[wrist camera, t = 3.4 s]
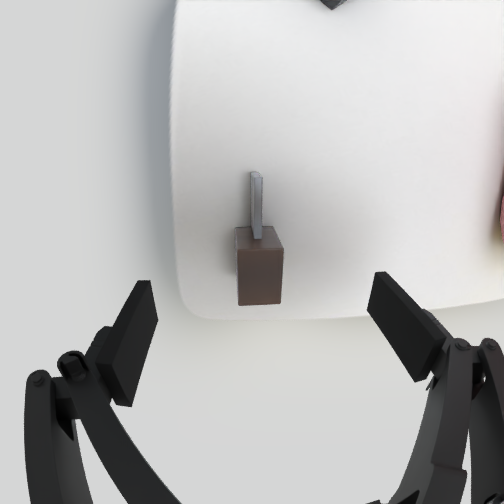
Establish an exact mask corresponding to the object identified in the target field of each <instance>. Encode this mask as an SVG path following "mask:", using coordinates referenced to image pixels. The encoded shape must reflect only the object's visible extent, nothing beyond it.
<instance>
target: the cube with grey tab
mask: <svg viewBox="0 0 504 504" xmlns="http://www.w3.org/2000/svg"><path fill="white" fill-rule="evenodd" d="M321 1H322V2H323V3H324V4H325V5H327V6H328V7H329V8H330V9H331V10H333V9H334V8H336V7H337V6H339V5H340V4H342V3H343V2H345V1H346V0H321Z"/></svg>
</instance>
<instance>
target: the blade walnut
mask: <svg viewBox="0 0 504 504" xmlns="http://www.w3.org/2000/svg"><path fill="white" fill-rule="evenodd" d="M235 240H236V277H237V293H238V305H239V306H247V305H268V304H280V303H281V291H282V273H283V254H284V248H283V246H282V244H281V242H280V240H279V238H278V236H277V234H276V231H275V229H274V227H262V176H261V175H260V174H259V173H258V172H251V227H237V228H235Z"/></svg>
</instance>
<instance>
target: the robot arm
mask: <svg viewBox="0 0 504 504" xmlns="http://www.w3.org/2000/svg"><path fill="white" fill-rule="evenodd" d="M367 311H368V313H369V314H370V315H371V317H372V318H373V320H374V321H375V323H376V324H377V325H378V327H379V328H380V330H381V331H382V333H383V334H384V336H385V337H386V339H387V340H388V342H389V343H390V345H391V346H392V348H393V349H394V351H395V352H396V354H397V356H398V357H399V359H400V360H401V362H402V363H403V365H404V366H405V368H406V370H407V371H408V373H409V374H410V376H411V377H412V379H413V381H414V382H418V381H422V380H425V379H426V378H427V376H428V375H429V373H430V371H432V373H433V374H434V376H433V378H432V379H431V381H430V383H429V385H428V386H427V388H426V390H428V389H429V388H430V389H429V394H428V399H427V403H426V407H425V411H424V415H423V419H422V422H421V426H420V430H419V433H418V436H417V440H416V443H415V446H414V449H413V452H412V455H411V458H410V461H409V463H408V466H407V469H406V471H405V474H404V477H403V479H402V481H401V484H400V486H399V488H398V490H397V491H396V493H395V494H394V495H393V497H392V498H391V500H390V501H389V503H388V504H460V502H461V499H462V495H463V491H464V487H465V484H466V479H467V471H466V470H463V469H462V464H463V459H464V454H465V448H466V442H467V435H468V428H469V437H470V450H471V504H504V355H503V353H502V350H501V348H500V346H499V344H498V343H497V342H496V341H495V340H493V339H490V338H485V339H483V340H482V342H481V344H480V346H471V345H470V344H469V343H468V342H467V341H466V340H464V339H461V338H453V337H452V336H451V334H450V333H449V332H448V331H447V330H446V329H445V328H444V327H443V325H442V324H441V323H440V322H439V321H438V320H437V319H436V318H435V317H434V316H433V315H432V313H430V312H428V311H427V310H425V309H421V308H420V307H419V305H418V304H417V303H416V302H415V301H414V300H413V299H412V298H411V297H410V296H409V295H408V294H407V293H406V292H405V291H404V290H403V289H402V288H401V287H400V286H399V285H398V284H397V282H396V281H395V280H394V279H393V278H392V277H391V276H390V275H389V274H388V273H387V272H375V276H374V281H373V285H372V290H371V294H370V299H369V303H368V307H367ZM157 322H158V317H157V312H156V307H155V302H154V297H153V292H152V287H151V282H150V280H149V281H148V280H142V281H141V280H139V281H137V283H136V284H135V286H134V288H133V290H132V292H131V293H130V295H129V297H128V299H127V301H126V302H125V304H124V306H123V308H122V310H121V312H120V313H119V315H118V317H117V319H116V321H115V323H114V325H113V327H109V326H104V327H103V328H102V329H101V330H99V331H98V332H97V334H96V336H95V338H94V341H92V343H91V346H90V347H89V349H88V350H87V352H86V354H85V356H84V355H83V354H82V352H79V351H69V352H66V353H65V354H63V355H62V356H61V357H60V358H59V359H58V362H57V367H58V369H59V371H60V373H61V374H62V376H63V377H53V378H51V376H50V375H49V373H48V372H47V371H45V370H37V371H34V372H33V373H31V374H30V375H29V377H28V379H27V382H26V393H25V409H24V410H25V411H24V444H25V462H26V473H27V482H28V489H29V496H30V501H31V504H93V501H92V498H91V495H90V491H89V487H88V483H87V480H86V476H85V471H84V467H83V463H82V458H81V453H80V448H79V443H78V437H77V430H76V423H75V419H81V422H82V424H83V426H84V428H85V430H86V433H87V435H88V437H89V439H90V441H91V443H92V445H93V447H94V449H95V450H96V452H97V454H98V456H99V458H100V460H101V462H102V463H103V465H104V467H105V469H106V470H107V472H108V474H109V475H110V477H111V479H112V480H113V482H114V483H115V485H116V486H117V488H118V489H119V491H120V493H121V494H122V496H123V497H124V499H125V500H126V501H127V503H128V504H181V502H180V501H179V500H178V499H177V498H176V497H175V496H174V495H173V493H172V492H171V491H170V490H169V489H168V488H167V486H166V485H165V484H164V483H163V482H162V480H161V479H160V478H159V477H158V475H157V474H156V473H155V472H154V470H153V469H152V468H151V466H150V465H149V464H148V462H147V461H146V460H145V458H144V457H143V456H142V454H141V453H140V451H139V450H138V449H137V447H136V446H135V444H134V443H133V441H132V440H131V438H130V437H129V435H128V434H127V432H126V431H125V429H124V427H123V426H122V424H121V423H120V421H119V419H118V418H117V416H116V415H115V413H114V411H113V409H112V407H111V406H110V402H111V399H112V398H113V400H114V402H115V404H116V405H120V406H127V407H132V404H133V400H134V397H135V393H136V390H137V386H138V383H139V379H140V376H141V372H142V369H143V366H144V363H145V359H146V356H147V353H148V350H149V347H150V344H151V340H152V337H153V334H154V331H155V328H156V325H157ZM484 377H486V379H485V382H484ZM367 504H381V503H380V500H377V501H373V502H370V503H367Z"/></svg>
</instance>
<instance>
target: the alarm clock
mask: <svg viewBox="0 0 504 504" xmlns="http://www.w3.org/2000/svg"><path fill="white" fill-rule="evenodd" d="M500 224H501V231H502V239H503V242H504V195H503V199H502V206H501V215H500Z"/></svg>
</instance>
